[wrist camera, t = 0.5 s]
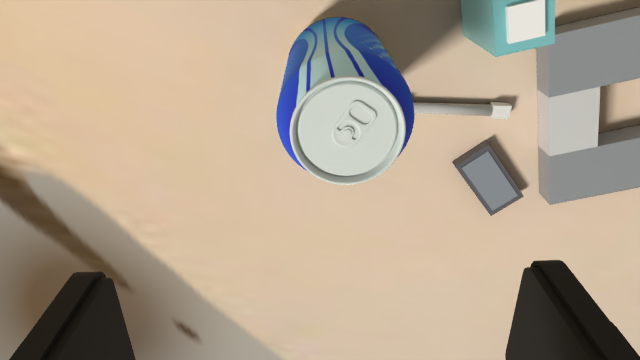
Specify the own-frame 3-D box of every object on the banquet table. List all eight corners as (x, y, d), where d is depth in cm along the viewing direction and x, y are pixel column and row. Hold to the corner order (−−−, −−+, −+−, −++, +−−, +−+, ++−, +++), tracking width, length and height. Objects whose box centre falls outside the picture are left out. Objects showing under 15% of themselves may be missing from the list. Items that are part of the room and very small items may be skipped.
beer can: (394, 96, 42) (434, 177, 28) (305, 122, 43) (300, 213, 29) (371, 1, 38) (405, 38, 24) (274, 32, 39) (251, 85, 25)
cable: (387, 111, 43) (388, 115, 42) (388, 99, 42) (390, 102, 41) (504, 115, 43) (508, 119, 42) (507, 102, 42) (511, 106, 41)
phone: (452, 161, 45) (455, 166, 44) (485, 140, 44) (489, 144, 43) (487, 210, 47) (491, 216, 46) (519, 191, 46) (524, 196, 45)
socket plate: (536, 30, 39) (548, 36, 37) (711, -10, 38) (734, -7, 36) (539, 192, 47) (549, 204, 44) (686, 163, 45) (705, 174, 43)
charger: (459, -15, 38) (494, -3, 30) (509, -27, 37) (557, -18, 30) (463, 35, 40) (497, 58, 32) (511, 24, 39) (557, 44, 32)
